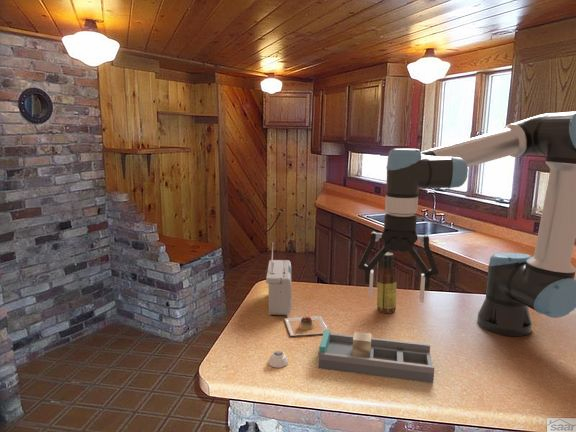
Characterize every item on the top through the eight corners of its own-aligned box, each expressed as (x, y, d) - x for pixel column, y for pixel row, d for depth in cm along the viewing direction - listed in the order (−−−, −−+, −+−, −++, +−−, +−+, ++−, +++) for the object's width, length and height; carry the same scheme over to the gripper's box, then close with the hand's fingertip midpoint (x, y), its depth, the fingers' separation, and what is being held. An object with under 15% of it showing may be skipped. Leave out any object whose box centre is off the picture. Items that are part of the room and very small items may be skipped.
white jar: (277, 356, 116) (264, 364, 112) (277, 346, 115) (264, 353, 111) (291, 363, 112) (279, 371, 109) (291, 352, 112) (279, 360, 108)
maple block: (370, 349, 114) (371, 333, 114) (370, 357, 110) (370, 341, 109) (353, 347, 115) (354, 331, 115) (352, 355, 111) (353, 339, 110)
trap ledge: (428, 357, 115) (430, 338, 114) (433, 382, 104) (434, 362, 103) (325, 345, 121) (325, 327, 120) (318, 368, 110) (318, 348, 109)
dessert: (330, 336, 128) (330, 321, 127) (290, 339, 126) (290, 324, 125) (320, 319, 140) (320, 305, 139) (284, 321, 138) (284, 307, 137)
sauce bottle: (398, 309, 146) (401, 252, 142) (392, 315, 141) (395, 257, 137) (379, 305, 150) (382, 249, 146) (373, 311, 145) (375, 254, 141)
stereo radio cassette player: (291, 317, 140) (291, 258, 136) (265, 317, 140) (265, 257, 136) (291, 293, 160) (291, 241, 156) (269, 293, 160) (269, 241, 156)
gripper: (451, 212, 105) (444, 297, 109) (352, 208, 110) (349, 288, 114) (455, 219, 98) (448, 308, 102) (349, 213, 103) (346, 299, 107)
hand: (395, 298), depth 108 cm, fingers open, 12 cm apart
